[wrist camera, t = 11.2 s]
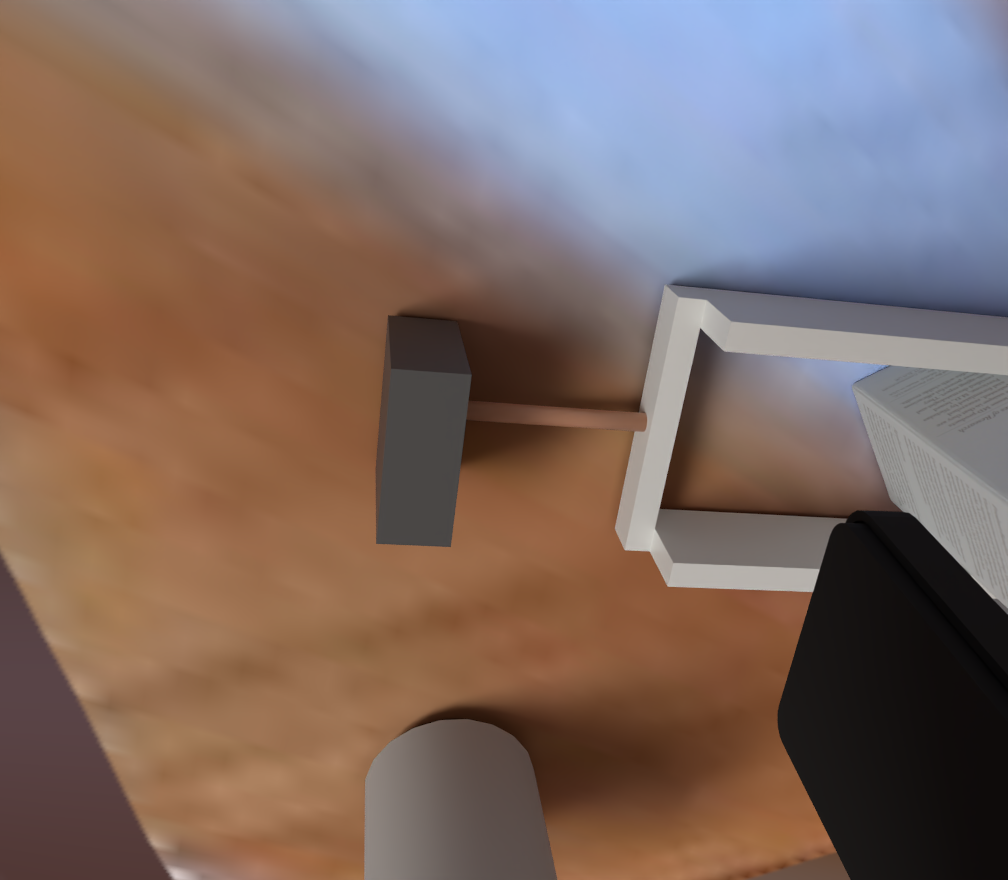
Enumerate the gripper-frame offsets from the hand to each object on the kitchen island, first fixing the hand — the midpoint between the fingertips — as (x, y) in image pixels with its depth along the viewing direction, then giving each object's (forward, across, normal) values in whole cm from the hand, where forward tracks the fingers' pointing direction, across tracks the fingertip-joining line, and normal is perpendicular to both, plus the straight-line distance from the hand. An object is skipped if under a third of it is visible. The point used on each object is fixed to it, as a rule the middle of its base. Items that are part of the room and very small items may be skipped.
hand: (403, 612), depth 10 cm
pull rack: (+23, -13, +8) cm, 27 cm away
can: (+22, -3, +26) cm, 34 cm away
